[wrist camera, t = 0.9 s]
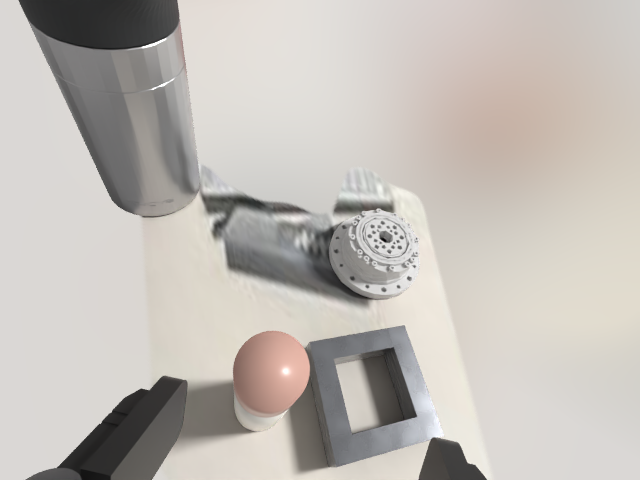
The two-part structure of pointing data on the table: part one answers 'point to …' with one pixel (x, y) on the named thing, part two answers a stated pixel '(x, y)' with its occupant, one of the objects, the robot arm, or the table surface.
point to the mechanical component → (375, 254)
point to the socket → (406, 382)
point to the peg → (268, 378)
